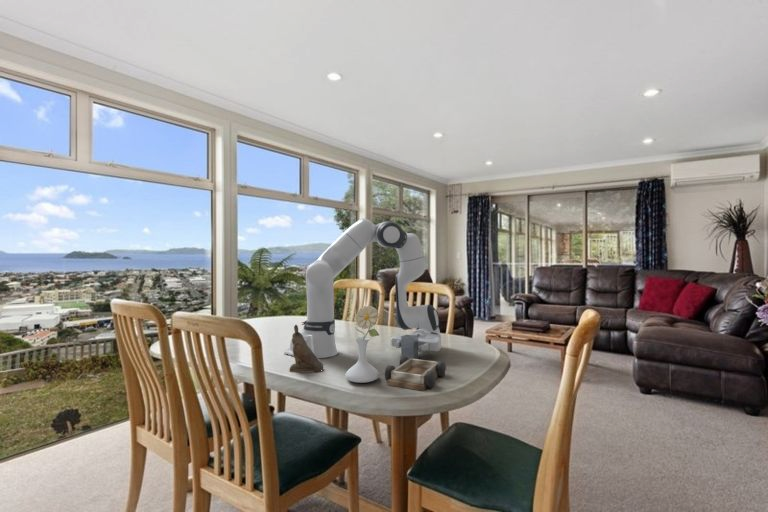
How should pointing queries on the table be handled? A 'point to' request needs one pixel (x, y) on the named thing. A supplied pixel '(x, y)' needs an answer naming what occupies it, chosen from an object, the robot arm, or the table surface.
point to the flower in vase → (364, 347)
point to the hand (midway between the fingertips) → (408, 347)
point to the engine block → (409, 346)
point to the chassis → (414, 373)
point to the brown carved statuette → (303, 355)
